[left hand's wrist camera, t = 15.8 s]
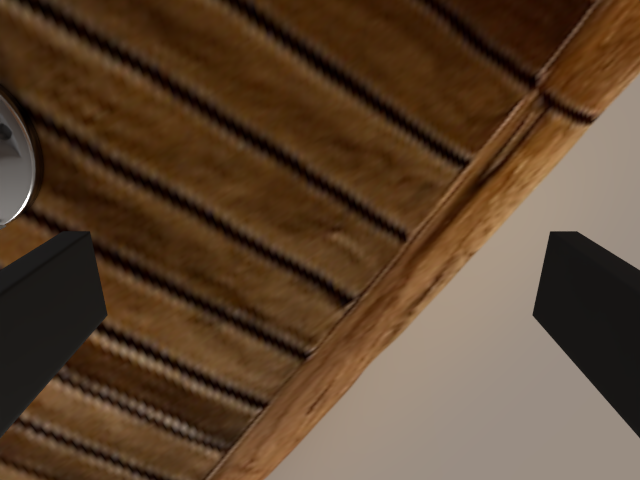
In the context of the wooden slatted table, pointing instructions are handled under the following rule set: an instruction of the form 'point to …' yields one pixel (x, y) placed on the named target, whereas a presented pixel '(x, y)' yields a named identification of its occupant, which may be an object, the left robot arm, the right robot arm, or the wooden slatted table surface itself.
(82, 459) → the wooden slatted table surface
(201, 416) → the wooden slatted table surface
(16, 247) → the wooden slatted table surface
